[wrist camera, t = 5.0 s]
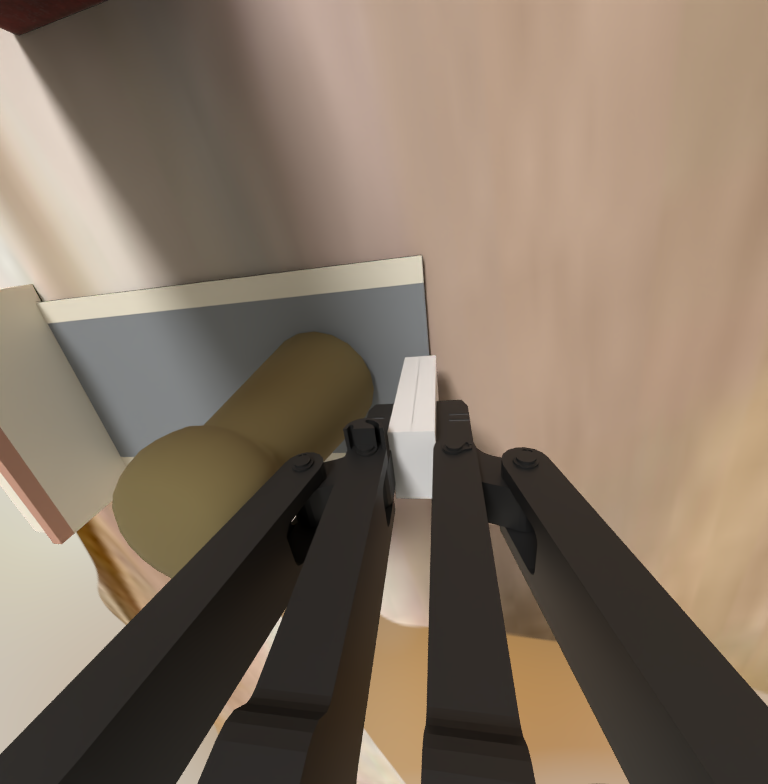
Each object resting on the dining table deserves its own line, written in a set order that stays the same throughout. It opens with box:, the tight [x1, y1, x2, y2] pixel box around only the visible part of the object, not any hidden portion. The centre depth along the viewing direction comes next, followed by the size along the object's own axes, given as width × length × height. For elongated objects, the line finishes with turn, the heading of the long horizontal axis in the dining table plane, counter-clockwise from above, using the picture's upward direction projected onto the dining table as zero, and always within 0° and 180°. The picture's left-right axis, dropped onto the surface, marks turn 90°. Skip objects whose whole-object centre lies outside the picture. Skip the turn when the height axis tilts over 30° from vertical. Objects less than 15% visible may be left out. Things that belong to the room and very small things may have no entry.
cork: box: [112, 332, 374, 578], centre depth 14 cm, size 6×6×11 cm
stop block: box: [0, 284, 126, 544], centre depth 20 cm, size 14×3×6 cm, turn 7°
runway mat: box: [36, 255, 429, 467], centre depth 21 cm, size 12×22×1 cm, turn 97°
